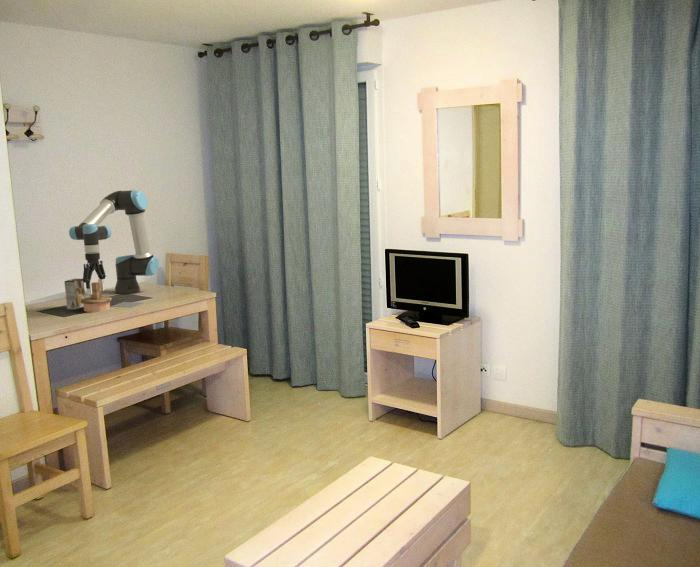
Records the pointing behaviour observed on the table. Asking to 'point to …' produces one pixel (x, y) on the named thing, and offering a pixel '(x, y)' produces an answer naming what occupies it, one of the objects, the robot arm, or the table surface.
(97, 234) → the robot arm
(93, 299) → the lid
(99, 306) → the bowl
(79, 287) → the coffee box
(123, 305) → the mat
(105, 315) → the table surface
